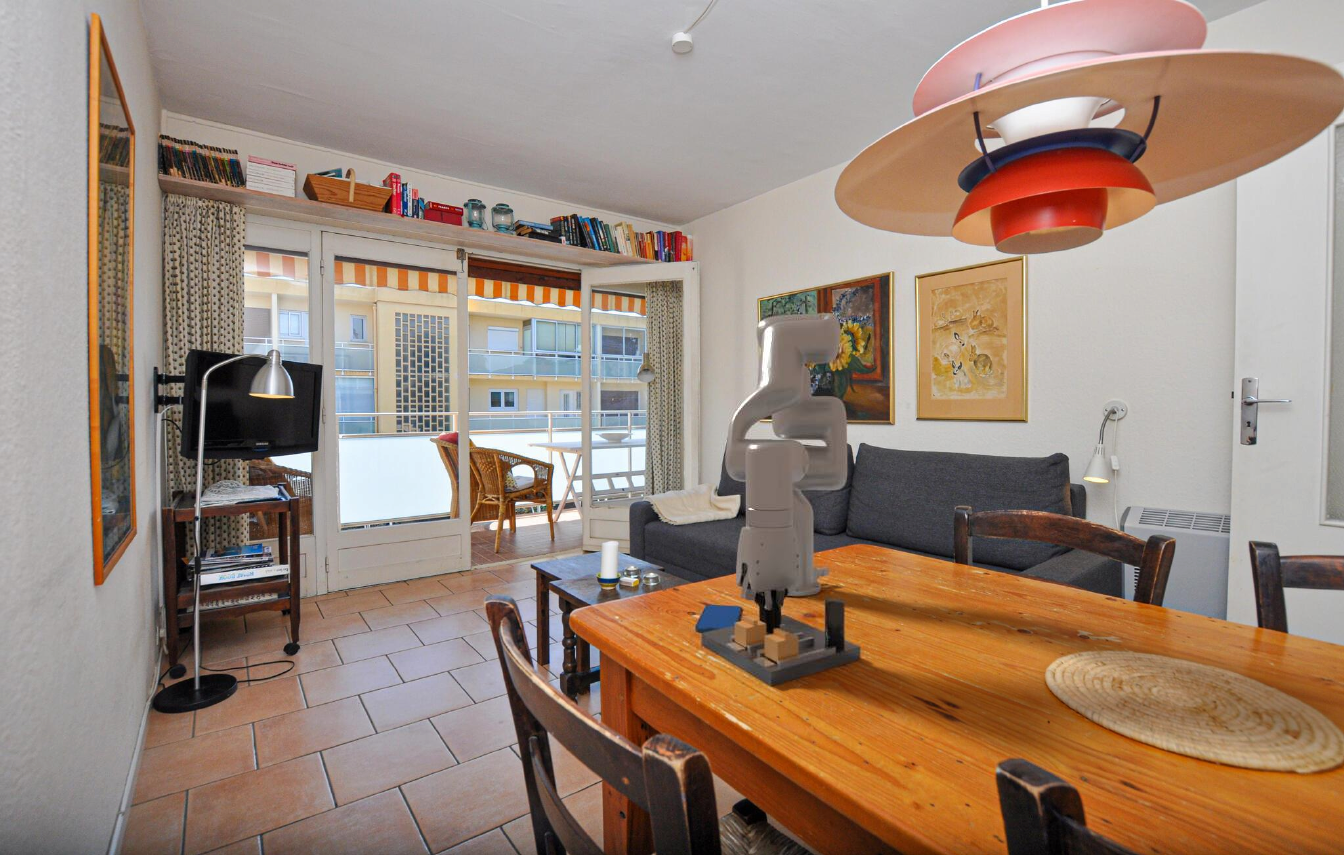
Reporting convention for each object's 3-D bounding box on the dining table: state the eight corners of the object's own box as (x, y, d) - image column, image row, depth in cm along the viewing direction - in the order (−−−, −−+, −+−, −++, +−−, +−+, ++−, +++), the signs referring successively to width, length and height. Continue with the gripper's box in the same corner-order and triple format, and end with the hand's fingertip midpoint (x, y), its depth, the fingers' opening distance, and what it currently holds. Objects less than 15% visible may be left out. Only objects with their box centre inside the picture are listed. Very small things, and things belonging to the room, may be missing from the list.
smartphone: (742, 606, 120) (735, 630, 105) (742, 611, 120) (735, 636, 105) (706, 604, 121) (694, 628, 107) (706, 609, 121) (694, 633, 107)
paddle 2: (785, 650, 92) (784, 625, 92) (798, 656, 90) (798, 631, 89) (764, 655, 90) (764, 630, 90) (777, 662, 88) (777, 636, 87)
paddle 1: (754, 636, 98) (754, 613, 98) (766, 642, 95) (766, 618, 95) (734, 641, 96) (734, 617, 96) (746, 647, 93) (746, 623, 93)
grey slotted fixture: (780, 623, 110) (780, 575, 110) (860, 659, 94) (860, 602, 94) (698, 643, 101) (697, 590, 101) (771, 686, 85) (770, 623, 85)
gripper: (788, 511, 104) (789, 616, 105) (718, 519, 97) (718, 632, 97) (819, 517, 98) (820, 629, 98) (746, 526, 90) (747, 647, 90)
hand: (769, 630), depth 98 cm, fingers closed
